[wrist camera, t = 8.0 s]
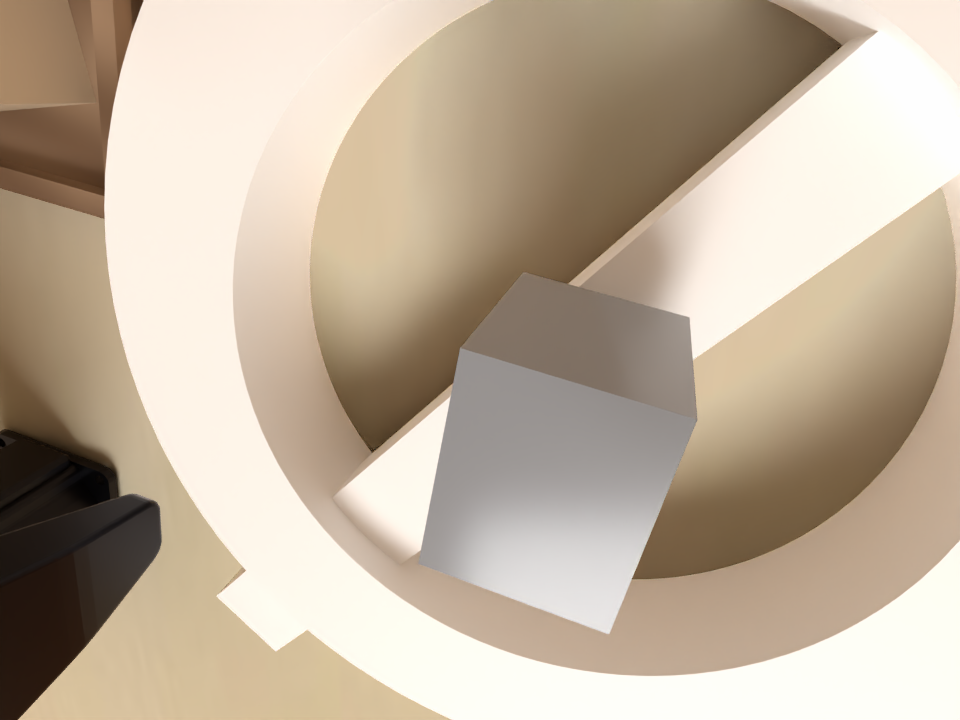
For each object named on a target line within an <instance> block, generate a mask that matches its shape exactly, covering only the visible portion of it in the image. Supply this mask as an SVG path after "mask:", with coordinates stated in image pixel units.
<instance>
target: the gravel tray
mask: <svg viewBox="0 0 960 720" xmlns="http://www.w3.org/2000/svg"><path fill="white" fill-rule="evenodd" d="M68 3H69V7H70V10H71V14H72V17H73V21H74V25H75V28H76V32H77V35H78V39H79V43H80V46H81V50H82V53H83V57H84V61H85V64H86V68H87V71H88V75H89V79H90V82H91V86H92V89H93V93H94V97H95V100H96V103H90V104H78V105H67V106H55V107H43V108H32V109H20V110H9V111H0V188H2V189H5V190H9V191H12V192H15V193H19V194H22V195H26V196H29V197H32V198H36V199H39V200H43V201H46V202H49V203H53V204H56V205H60V206H63V207H66V208H70V209H73V210H77V211H80V212H83V213H87V214H90V215H94V216H97V217H100V218H104V219H105V213H104V201H105V170H106V158H107V146H108V137H109V131H110V124H111V117H112V111H113V105H114V100H115V95H116V91H117V86H118V82H119V77H120V72H121V68H122V65H123V61H124V58H125V55H126V51H127V48H128V44H129V41H130V37H131V34H132V31H133V28H134V26H135V23H136V20H137V17H138V15H139V12H140V9H141V6H142V4H143V0H68Z"/></svg>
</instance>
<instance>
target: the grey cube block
mask: <svg viewBox="0 0 960 720" xmlns="http://www.w3.org/2000/svg"><path fill="white" fill-rule="evenodd" d="M696 422H697V409H696V396H695V383H694V370H693V357H692V343H691V330H690V317H687V316H683V315H679V314H676V313H672V312H668V311H665V310H661V309H657V308H654V307H650V306H646V305H643V304H639V303H635V302H632V301H628V300H625V299H621V298H617V297H614V296H610V295H606V294H603V293H599V292H595V291H592V290H588V289H584V288H581V287H577V286H573V285H570V284H566V283H562V282H559V281H555V280H552V279H548V278H544V277H541V276H537V275H533V274H530V273H526V272H523V273H522V274H521V275H520V276H519V278H518V279H517V280H516V281H515V282H514V284H513V285H512V286H511V287H510V288H509V290H508V291H507V292H506V293H505V294H504V296H503V297H502V298H501V299H500V301H499V302H498V303H497V304H496V305H495V307H494V308H493V309H492V310H491V311H490V313H489V314H488V315H487V316H486V317H485V319H484V320H483V321H482V322H481V323H480V325H479V326H478V327H477V328H476V329H475V331H474V332H473V333H472V334H471V335H470V337H469V338H468V339H467V340H466V341H465V343H464V344H463V345H462V346H461V347H460V351H459V356H458V361H457V366H456V372H455V377H454V382H453V387H452V392H451V397H450V402H449V408H448V413H447V418H446V423H445V428H444V433H443V438H442V444H441V449H440V454H439V459H438V464H437V469H436V475H435V480H434V485H433V490H432V495H431V500H430V505H429V511H428V516H427V521H426V526H425V531H424V536H423V541H422V547H421V552H420V557H419V562H418V564H420V565H423V566H425V567H428V568H431V569H433V570H436V571H439V572H441V573H444V574H447V575H450V576H452V577H455V578H458V579H460V580H463V581H466V582H468V583H471V584H474V585H477V586H479V587H482V588H485V589H487V590H490V591H493V592H495V593H498V594H501V595H503V596H506V597H509V598H512V599H514V600H517V601H520V602H522V603H525V604H528V605H530V606H533V607H536V608H539V609H541V610H544V611H547V612H549V613H552V614H555V615H557V616H560V617H563V618H565V619H568V620H571V621H574V622H576V623H579V624H582V625H584V626H587V627H590V628H592V629H595V630H598V631H601V632H603V633H606V634H609V633H610V631H611V628H612V626H613V623H614V621H615V619H616V616H617V614H618V611H619V609H620V606H621V604H622V602H623V599H624V597H625V594H626V592H627V589H628V587H629V585H630V582H631V580H632V577H633V575H634V572H635V570H636V568H637V565H638V563H639V560H640V558H641V555H642V553H643V551H644V548H645V546H646V543H647V541H648V538H649V536H650V533H651V531H652V529H653V526H654V524H655V521H656V519H657V516H658V514H659V512H660V509H661V507H662V504H663V502H664V499H665V497H666V495H667V492H668V490H669V487H670V485H671V482H672V480H673V478H674V475H675V473H676V470H677V468H678V465H679V463H680V461H681V458H682V456H683V453H684V451H685V448H686V446H687V444H688V441H689V439H690V436H691V434H692V431H693V429H694V427H695V424H696Z"/></svg>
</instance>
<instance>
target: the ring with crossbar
mask: <svg viewBox="0 0 960 720" xmlns="http://www.w3.org/2000/svg"><path fill="white" fill-rule="evenodd" d="M491 1H493V0H144V1H143V4H142V6H141V9H140V12H139V15H138V17H137V20H136V23H135V26H134V28H133V31H132V34H131V37H130V41H129V44H128V48H127V51H126V55H125V58H124V61H123V65H122V68H121V72H120V77H119V82H118V86H117V91H116V95H115V100H114V105H113V111H112V117H111V124H110V131H109V137H108V146H107V158H106V170H105V201H104V213H105V239H106V250H107V260H108V270H109V278H110V284H111V290H112V297H113V303H114V308H115V312H116V317H117V322H118V326H119V331H120V335H121V339H122V342H123V346H124V349H125V353H126V357H127V360H128V364H129V367H130V370H131V372H132V375H133V378H134V381H135V384H136V387H137V390H138V393H139V395H140V398H141V400H142V403H143V405H144V408H145V410H146V413H147V416H148V418H149V420H150V422H151V424H152V427H153V429H154V431H155V433H156V435H157V438H158V440H159V442H160V444H161V446H162V448H163V450H164V452H165V453H166V455H167V457H168V459H169V461H170V463H171V465H172V467H173V469H174V470H175V472H176V474H177V475H178V477H179V479H180V481H181V482H182V484H183V486H184V487H185V489H186V491H187V492H188V494H189V495H190V497H191V499H192V500H193V502H194V503H195V505H196V506H197V508H198V509H199V511H200V512H201V514H202V515H203V517H204V518H205V519H206V521H207V522H208V523H209V525H210V526H211V528H212V529H213V530H214V532H215V533H216V534H217V536H218V537H219V538H220V540H221V541H222V542H223V543H224V545H225V546H226V547H227V548H228V550H229V551H230V552H231V553H232V555H233V556H234V557H235V558H236V559H237V561H238V562H239V563H240V564H241V565H242V566H243V567H242V568H241V570H240V571H239V572H238V573H237V574H236V575H235V576H234V577H233V578H232V580H231V581H230V582H229V583H228V584H227V585H226V586H225V587H224V588H223V589H222V591H221V592H220V593H219V594H218V595H217V597H218V598H219V599H220V600H221V601H222V602H223V603H224V604H225V605H226V606H227V607H229V608H230V609H231V610H232V611H233V612H234V613H235V614H236V615H237V616H238V617H239V618H240V619H241V620H242V621H244V622H245V623H246V624H247V625H248V626H249V627H250V628H251V629H252V630H253V631H254V632H255V633H256V634H258V635H259V636H260V637H261V638H262V639H263V640H264V641H265V642H266V643H267V644H268V645H269V646H270V647H271V648H273V649H274V650H275V651H277V650H279V649H280V648H282V647H283V646H284V645H286V644H287V643H289V642H290V641H292V640H293V639H294V638H296V637H297V636H299V635H300V634H302V633H303V632H304V631H306V630H308V631H310V632H311V633H312V634H313V635H315V636H316V637H317V638H318V639H320V640H321V641H322V642H323V643H325V644H326V645H327V646H329V647H330V648H331V649H332V650H334V651H335V652H337V653H338V654H339V655H341V656H342V657H344V658H345V659H346V660H348V661H349V662H350V663H352V664H353V665H355V666H356V667H358V668H359V669H361V670H362V671H364V672H365V673H367V674H369V675H370V676H372V677H373V678H375V679H376V680H378V681H380V682H381V683H383V684H385V685H386V686H388V687H390V688H391V689H393V690H395V691H397V692H398V693H400V694H402V695H404V696H405V697H407V698H409V699H411V700H413V701H415V702H417V703H419V704H421V705H422V706H424V707H426V708H428V709H431V710H433V711H435V712H437V713H439V714H441V715H443V716H445V717H447V718H449V719H452V720H960V0H768V1H770V2H773V3H775V4H777V5H779V6H781V7H783V8H785V9H787V10H789V11H791V12H793V13H795V14H796V15H798V16H800V17H801V18H803V19H805V20H806V21H808V22H810V23H811V24H813V25H815V26H816V27H818V28H819V29H821V30H822V31H823V32H825V33H826V34H828V35H829V36H830V37H832V38H833V39H835V40H836V41H837V42H839V43H840V44H841V45H842V47H841V48H840V49H838V50H837V51H836V52H835V53H834V54H833V55H831V56H830V57H829V58H828V59H827V60H826V61H825V62H823V63H822V64H821V65H820V66H819V67H818V68H816V69H815V70H814V71H813V72H812V73H811V74H809V75H808V76H807V77H806V78H805V79H804V80H803V81H801V82H800V83H799V84H798V85H797V86H796V87H794V88H793V89H792V90H791V91H790V92H789V93H788V94H786V95H785V96H784V97H783V98H782V99H781V100H779V101H778V102H777V103H776V104H775V105H774V106H773V107H771V108H770V109H769V110H768V111H767V112H766V113H764V114H763V115H762V116H761V117H760V118H759V119H758V120H756V121H755V122H754V123H753V124H752V125H751V126H749V127H748V128H747V129H746V130H745V131H744V132H743V133H741V134H740V135H739V136H738V137H737V138H736V139H734V140H733V141H732V142H731V143H730V144H729V145H728V146H726V147H725V148H724V149H723V150H722V151H721V152H719V153H718V154H717V155H716V156H715V157H714V158H713V159H711V160H710V161H709V162H708V163H707V164H706V165H704V166H703V167H702V168H701V169H700V170H699V171H697V172H696V173H695V174H694V175H693V176H692V177H691V178H689V179H688V180H687V181H686V182H685V183H684V184H682V185H681V186H680V187H679V188H678V189H677V190H676V191H674V192H673V193H672V194H671V195H670V196H669V197H667V198H666V199H665V200H664V201H663V202H662V203H661V204H659V205H658V206H657V207H656V208H655V209H654V210H652V211H651V212H650V213H649V214H648V215H647V216H646V217H644V218H643V219H642V220H641V221H640V222H639V223H637V224H636V225H635V226H634V227H633V228H632V229H631V230H629V231H628V232H627V233H626V234H625V235H624V236H622V237H621V238H620V239H619V240H618V241H617V242H616V243H614V244H613V245H612V246H611V247H610V248H609V249H607V250H606V251H605V252H604V253H603V254H602V255H600V256H599V257H598V258H597V259H596V260H595V261H594V262H592V263H591V264H590V265H589V266H588V267H587V268H585V269H584V270H583V271H582V272H581V273H580V274H579V275H577V276H576V277H575V278H574V279H573V280H572V281H570V282H569V283H568V284H570V285H573V286H577V287H581V288H584V289H588V290H592V291H595V292H599V293H603V294H606V295H610V296H614V297H617V298H621V299H625V300H628V301H632V302H635V303H639V304H643V305H646V306H650V307H654V308H657V309H661V310H665V311H668V312H672V313H676V314H679V315H683V316H687V317H690V330H691V343H692V357H693V360H694V359H695V358H696V357H698V356H699V355H701V354H702V353H704V352H705V351H706V350H708V349H709V348H711V347H712V346H714V345H715V344H716V343H718V342H719V341H721V340H722V339H724V338H725V337H726V336H728V335H729V334H731V333H732V332H734V331H735V330H737V329H738V328H739V327H741V326H742V325H744V324H745V323H747V322H748V321H749V320H751V319H752V318H754V317H755V316H757V315H758V314H759V313H761V312H762V311H764V310H765V309H767V308H768V307H769V306H771V305H772V304H774V303H775V302H777V301H778V300H779V299H781V298H782V297H784V296H785V295H787V294H788V293H789V292H791V291H792V290H794V289H795V288H797V287H798V286H799V285H801V284H802V283H804V282H805V281H807V280H808V279H809V278H811V277H812V276H814V275H815V274H817V273H818V272H819V271H821V270H822V269H824V268H825V267H827V266H828V265H829V264H831V263H832V262H834V261H835V260H837V259H838V258H840V257H841V256H842V255H844V254H845V253H847V252H848V251H850V250H851V249H852V248H854V247H855V246H857V245H858V244H860V243H861V242H862V241H864V240H865V239H867V238H868V237H870V236H871V235H872V234H874V233H875V232H877V231H878V230H880V229H881V228H882V227H884V226H885V225H887V224H888V223H890V222H891V221H892V220H894V219H895V218H897V217H898V216H900V215H901V214H902V213H904V212H905V211H907V210H908V209H910V208H911V207H912V206H914V205H915V204H917V203H918V202H920V201H921V200H922V199H924V198H925V197H927V196H928V195H930V194H931V193H932V192H934V191H935V190H937V189H938V188H940V187H941V188H942V191H943V194H944V196H945V200H946V204H947V208H948V213H949V217H950V221H951V226H952V233H953V240H954V246H955V260H956V299H955V308H954V316H953V324H952V329H951V334H950V339H949V344H948V348H947V351H946V355H945V358H944V362H943V365H942V369H941V371H940V374H939V377H938V379H937V382H936V384H935V387H934V390H933V392H932V394H931V396H930V398H929V400H928V403H927V405H926V407H925V409H924V411H923V413H922V415H921V416H920V418H919V420H918V421H917V423H916V425H915V427H914V428H913V430H912V432H911V433H910V435H909V436H908V438H907V439H906V441H905V442H904V444H903V445H902V447H901V448H900V449H899V451H898V452H897V453H896V455H895V456H894V457H893V458H892V460H891V461H890V462H889V463H888V465H887V466H886V467H885V468H884V469H883V470H882V472H881V473H880V474H879V475H878V476H877V477H876V478H875V479H874V480H873V481H872V482H871V483H870V484H869V485H868V486H867V487H866V488H865V489H864V490H863V491H862V492H861V493H860V494H859V495H858V496H857V497H856V498H855V499H853V500H852V501H851V502H850V503H848V504H847V505H846V506H845V507H844V508H842V509H841V510H840V511H839V512H837V513H836V514H835V515H833V516H832V517H830V518H829V519H828V520H826V521H825V522H823V523H822V524H820V525H819V526H817V527H816V528H814V529H812V530H811V531H809V532H808V533H806V534H804V535H803V536H801V537H799V538H797V539H795V540H793V541H791V542H789V543H788V544H786V545H784V546H781V547H779V548H777V549H775V550H773V551H770V552H768V553H766V554H763V555H761V556H758V557H756V558H753V559H750V560H748V561H745V562H742V563H738V564H735V565H732V566H729V567H725V568H721V569H717V570H713V571H709V572H704V573H699V574H693V575H687V576H680V577H672V578H660V579H632V580H631V582H630V585H629V587H628V589H627V592H626V594H625V597H624V599H623V602H622V604H621V606H620V609H619V611H618V614H617V616H616V619H615V621H614V623H613V626H612V628H611V631H610V633H609V634H606V633H603V632H601V631H598V630H595V629H592V628H590V627H587V626H584V625H582V624H579V623H576V622H574V621H571V620H568V619H565V618H563V617H560V616H557V615H555V614H552V613H549V612H547V611H544V610H541V609H539V608H536V607H533V606H530V605H528V604H525V603H522V602H520V601H517V600H514V599H512V598H509V597H506V596H503V595H501V594H498V593H495V592H493V591H490V590H487V589H485V588H482V587H479V586H477V585H474V584H471V583H468V582H466V581H463V580H460V579H458V578H455V577H452V576H450V575H447V574H444V573H441V572H439V571H436V570H433V569H431V568H428V567H425V566H423V565H420V564H418V562H419V557H420V552H421V547H422V541H423V536H424V531H425V526H426V521H427V516H428V511H429V505H430V500H431V495H432V490H433V485H434V480H435V475H436V469H437V464H438V459H439V454H440V449H441V444H442V438H443V433H444V428H445V423H446V418H447V413H448V408H449V402H450V397H451V392H452V387H453V384H452V385H450V386H449V387H448V388H447V389H446V390H445V391H443V392H442V393H441V394H440V395H439V396H438V397H437V398H435V399H434V400H433V401H432V402H431V403H430V404H428V405H427V406H426V407H425V408H424V409H423V410H422V411H420V412H419V413H418V414H417V415H416V416H415V417H413V418H412V419H411V420H410V421H409V422H408V423H407V424H405V425H404V426H403V427H402V428H401V429H400V430H398V431H397V432H396V433H395V434H394V435H393V436H392V437H390V438H389V439H388V440H387V441H386V442H385V443H383V444H382V445H381V446H380V447H379V448H378V449H376V450H375V451H374V452H373V453H372V452H371V451H370V450H369V448H368V447H367V445H366V444H365V443H364V441H363V440H362V438H361V437H360V435H359V434H358V432H357V431H356V429H355V428H354V426H353V424H352V423H351V421H350V419H349V418H348V416H347V414H346V412H345V410H344V408H343V407H342V405H341V403H340V400H339V398H338V396H337V394H336V392H335V390H334V387H333V385H332V383H331V380H330V378H329V375H328V372H327V369H326V367H325V364H324V361H323V358H322V354H321V350H320V347H319V343H318V339H317V334H316V330H315V325H314V319H313V312H312V305H311V292H310V255H311V243H312V235H313V228H314V222H315V217H316V212H317V208H318V204H319V200H320V196H321V192H322V189H323V186H324V183H325V180H326V177H327V174H328V171H329V169H330V167H331V164H332V162H333V159H334V157H335V155H336V152H337V150H338V148H339V146H340V144H341V142H342V140H343V138H344V136H345V135H346V133H347V131H348V129H349V128H350V126H351V124H352V123H353V121H354V119H355V118H356V116H357V115H358V113H359V112H360V110H361V109H362V107H363V106H364V105H365V103H366V102H367V100H368V99H369V98H370V96H371V95H372V94H373V93H374V91H375V90H376V89H377V88H378V87H379V85H380V84H381V83H382V82H383V80H384V79H385V78H386V77H387V76H388V75H389V74H390V73H391V72H392V71H393V70H394V69H395V68H396V67H397V66H398V65H399V64H400V63H401V62H402V61H403V60H404V59H405V58H406V57H407V56H408V55H410V54H411V53H412V52H413V51H414V50H415V49H416V48H417V47H419V46H420V45H421V44H423V43H424V42H425V41H426V40H428V39H429V38H430V37H432V36H433V35H434V34H435V33H437V32H438V31H440V30H441V29H443V28H444V27H446V26H447V25H449V24H450V23H452V22H453V21H455V20H457V19H459V18H460V17H462V16H464V15H466V14H467V13H469V12H471V11H473V10H475V9H476V8H478V7H481V6H483V5H485V4H487V3H489V2H491Z"/></svg>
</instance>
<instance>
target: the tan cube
mask: <svg viewBox="0 0 960 720" xmlns="http://www.w3.org/2000/svg"><path fill="white" fill-rule="evenodd" d="M90 103H96V100H95V97H94V93H93V89H92V86H91V82H90V79H89V75H88V71H87V68H86V64H85V61H84V57H83V53H82V50H81V46H80V43H79V39H78V35H77V32H76V28H75V25H74V21H73V17H72V14H71V10H70V7H69V3H68V0H0V111H9V110H20V109H32V108H43V107H55V106H67V105H78V104H90Z"/></svg>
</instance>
